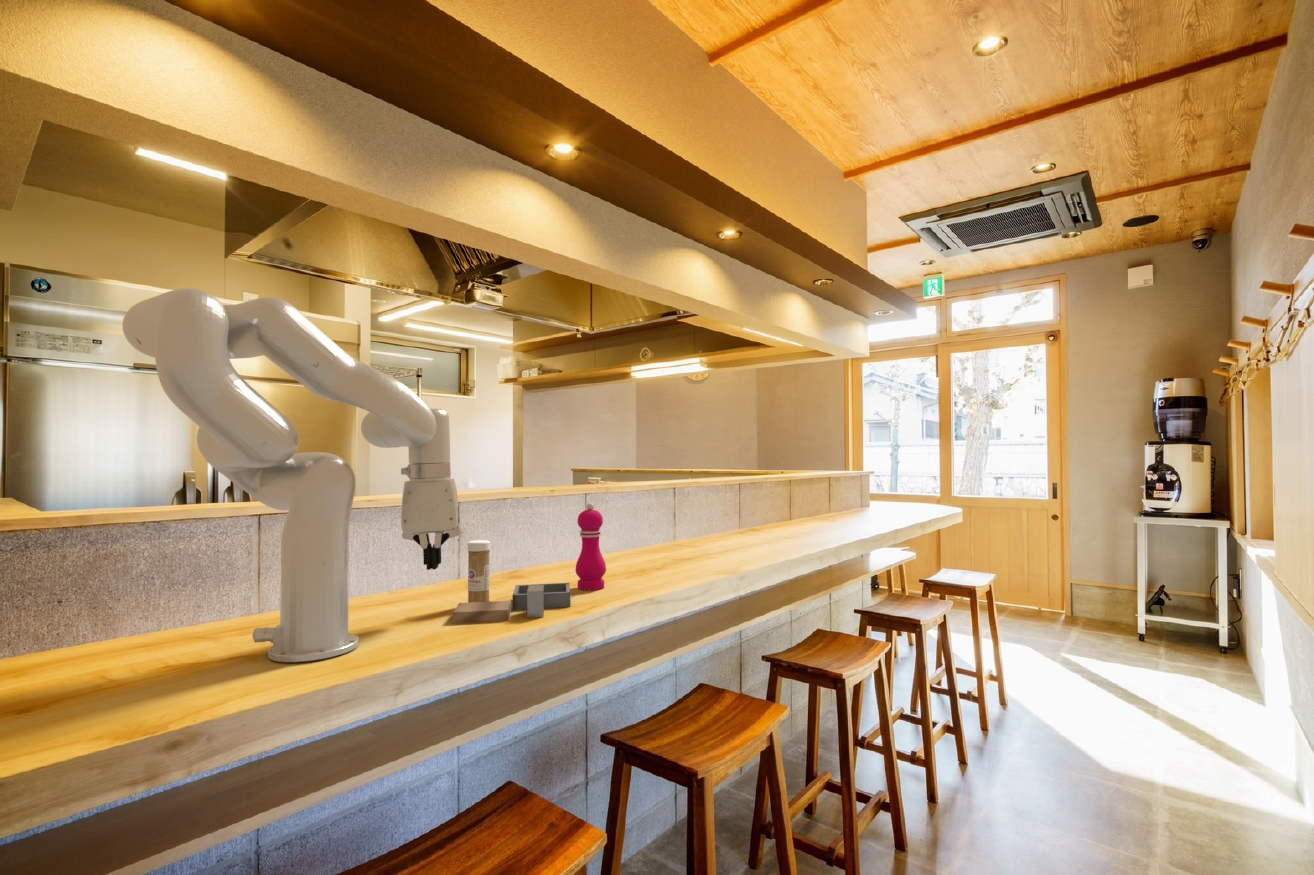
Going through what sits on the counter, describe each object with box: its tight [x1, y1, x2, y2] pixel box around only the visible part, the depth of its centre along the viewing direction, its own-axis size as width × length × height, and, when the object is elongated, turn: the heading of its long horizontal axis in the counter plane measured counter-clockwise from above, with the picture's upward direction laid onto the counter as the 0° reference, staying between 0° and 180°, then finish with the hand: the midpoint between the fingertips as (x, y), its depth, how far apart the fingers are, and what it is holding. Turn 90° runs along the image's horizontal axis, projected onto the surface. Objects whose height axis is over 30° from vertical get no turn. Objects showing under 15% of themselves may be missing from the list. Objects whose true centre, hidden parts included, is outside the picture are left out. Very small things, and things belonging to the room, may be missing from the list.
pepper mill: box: [574, 502, 607, 592], centre depth 144 cm, size 7×7×20 cm
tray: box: [512, 582, 571, 611], centre depth 129 cm, size 12×11×3 cm
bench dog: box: [526, 584, 545, 619], centre depth 120 cm, size 3×6×5 cm, turn 9°
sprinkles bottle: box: [467, 539, 491, 603], centre depth 128 cm, size 5×5×14 cm
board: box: [452, 600, 512, 625], centre depth 118 cm, size 10×8×2 cm
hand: (432, 568), depth 117 cm, fingers closed
